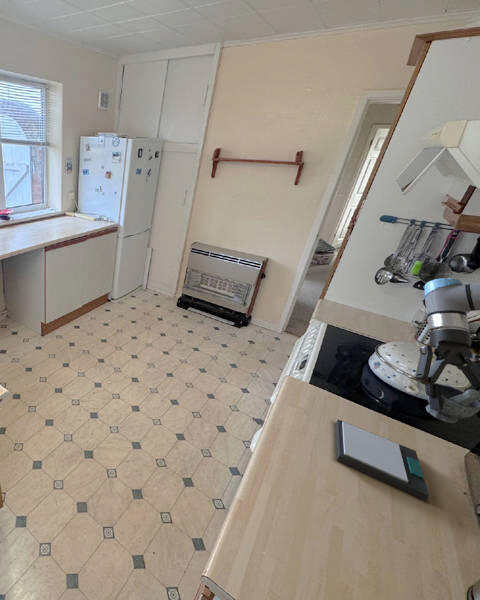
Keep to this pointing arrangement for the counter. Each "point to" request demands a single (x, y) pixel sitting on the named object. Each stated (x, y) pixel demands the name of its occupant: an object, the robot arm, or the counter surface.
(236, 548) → the counter surface
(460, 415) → the mortar and pestle
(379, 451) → the kitchen scale
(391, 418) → the counter surface
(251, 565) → the counter surface
